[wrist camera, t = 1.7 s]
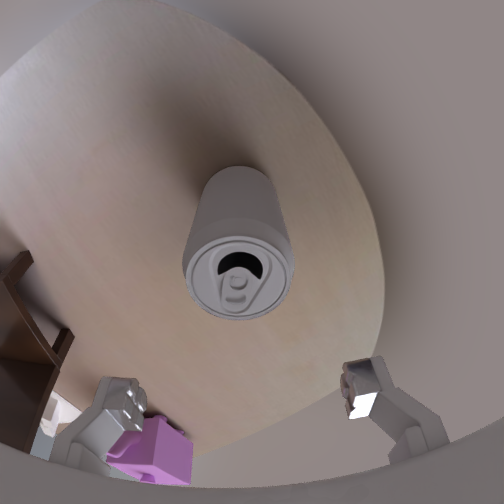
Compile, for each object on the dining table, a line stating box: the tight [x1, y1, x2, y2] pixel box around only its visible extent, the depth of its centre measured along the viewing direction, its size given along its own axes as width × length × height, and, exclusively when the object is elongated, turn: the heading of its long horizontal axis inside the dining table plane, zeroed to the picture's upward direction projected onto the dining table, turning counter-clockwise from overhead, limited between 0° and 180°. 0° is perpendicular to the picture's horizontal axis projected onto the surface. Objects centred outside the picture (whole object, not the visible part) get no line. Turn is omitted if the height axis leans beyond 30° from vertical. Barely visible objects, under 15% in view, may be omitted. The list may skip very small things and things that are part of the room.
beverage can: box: [182, 166, 295, 320], centre depth 21 cm, size 6×6×12 cm
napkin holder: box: [40, 390, 83, 437], centre depth 46 cm, size 15×11×6 cm
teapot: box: [106, 415, 193, 485], centre depth 43 cm, size 20×10×12 cm, turn 20°
